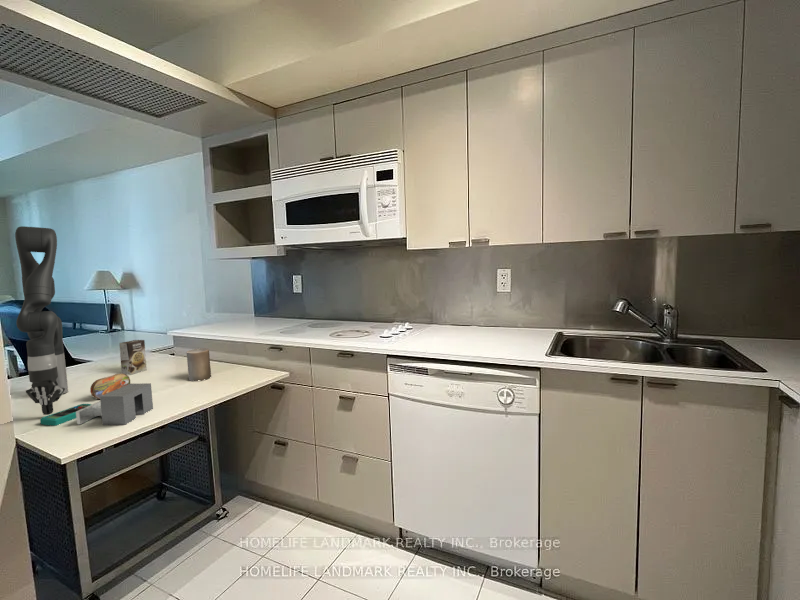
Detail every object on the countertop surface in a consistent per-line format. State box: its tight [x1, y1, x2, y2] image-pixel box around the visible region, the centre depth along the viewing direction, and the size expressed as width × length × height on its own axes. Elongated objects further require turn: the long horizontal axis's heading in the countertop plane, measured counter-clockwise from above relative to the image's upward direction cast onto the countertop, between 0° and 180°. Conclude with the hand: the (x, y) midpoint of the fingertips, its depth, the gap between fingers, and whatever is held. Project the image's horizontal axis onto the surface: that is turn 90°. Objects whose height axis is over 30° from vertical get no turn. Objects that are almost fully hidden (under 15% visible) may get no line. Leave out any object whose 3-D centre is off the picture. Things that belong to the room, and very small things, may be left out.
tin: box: [89, 373, 131, 400], centre depth 161 cm, size 15×3×8 cm, turn 162°
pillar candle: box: [185, 347, 212, 382], centre depth 183 cm, size 10×10×15 cm
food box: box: [119, 339, 148, 375], centre depth 196 cm, size 9×6×16 cm
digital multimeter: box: [39, 403, 92, 427], centre depth 138 cm, size 7×15×3 cm, turn 166°
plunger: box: [75, 400, 102, 425], centre depth 141 cm, size 13×21×4 cm, turn 178°
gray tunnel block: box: [99, 382, 154, 426], centre depth 137 cm, size 8×14×10 cm, turn 178°
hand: (48, 413), depth 138 cm, fingers closed
